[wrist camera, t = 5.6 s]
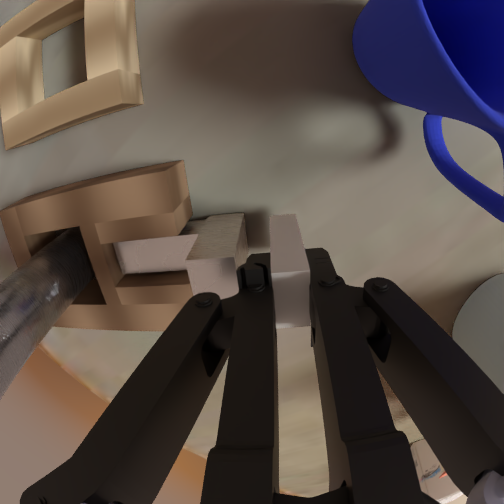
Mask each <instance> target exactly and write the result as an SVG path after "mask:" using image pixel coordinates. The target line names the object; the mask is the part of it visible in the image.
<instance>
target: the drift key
mask: <svg viewBox="0 0 504 504" xmlns="http://www.w3.org/2000/svg"><path fill="white" fill-rule="evenodd" d="M113 245H114V248H115V252H116V255H117V258H118V261H119V264H120V267H121V271H122V274H131V273H147V272H163V271H178V270H187V271H188V275H189V279H190V283H191V288H192V292H193V296H194V295H196V294H198V293H202V292H213V293H216V294H217V295H219V297H220V299H225V298H229V297H232V296H234V295H236V294H237V293H238V292H239V286H238V280H237V274H236V270H237V268H238V267H239V266H241V265H242V264H245V263H246V259H247V258H248V252H249V250H248V242H247V234H246V226H245V218H244V213H233V214H223V215H213V216H209V217H208V218H207V219H204V220H195V221H188V222H187V223H186V225H185V226H184V228H183V229H182V230H181V232H180V233H179V235H178V236H170V237H161V238H151V239H142V240H132V241H123V242H115V243H113Z"/></svg>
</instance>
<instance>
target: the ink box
mask: <svg viewBox="0 0 504 504" xmlns="http://www.w3.org/2000/svg"><path fill="white" fill-rule="evenodd" d="M410 449H411V452H412V456H413V460H414V463H415V467H416V471H417V475H418V479H419V483H420V487H421V491H422V492H424V493H426V494H427V495H429V496H430V497H432V498H433V499H435V500H436V501H438V502H439V503H441V504H446V503H448V502H450V501H453V500H455V499H457V498H458V497H459V496H461V495H462V494H463V493H462V492H461V491H460V490H459V489H458V487H457V486H456V485H455V484H454V483H453V482H452V480H451V479H450V477H449V476H448V475H446V476H444V477H442V478H439V477H440V476H441V475H442V473H443V472H444V471H445V470H444V468H443V467H442V465H441V464H440V462H439V460H438V459H437V457H436V456H435V454H434V452H433V451H432V449H431V448H430V446H429V445H428V443H427V441H426V440H425V439H423V440H420V441H416V442H413V444H412V445H411V447H410Z"/></svg>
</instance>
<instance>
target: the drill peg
mask: <svg viewBox="0 0 504 504" xmlns="http://www.w3.org/2000/svg"><path fill="white" fill-rule="evenodd" d="M95 276H96V275H95V272H94V269H93V267H92V264H91V261H90V258H89V255H88V252H87V249H86V246H85V243H84V240H83V236H82V233H81V230H80V226H77V227H71V228H69V229H68V230H66V231H65V232H64V233H62V234H61V235H60V236H58V237H57V238H56V239H54V240H53V241H52V242H50V243H49V244H48V245H46V246H45V247H44V248H42V249H41V250H40V251H39V252H37V253H36V254H35V255H34V256H32V257H31V258H30V259H29V260H27V261H26V262H25V263H24V264H23V265H21V266H20V267H19V268H18V269H17V270H15V271H14V272H13V273H12V274H11V275H10V276H8V277H7V278H6V279H5V280H4V281H3V282H2V283H1V284H0V399H1V398H2V396H3V395H4V393H5V392H6V390H7V389H8V387H9V386H10V384H11V383H12V381H13V379H14V378H15V377H16V375H17V374H18V372H19V371H20V369H21V368H22V367H23V365H24V364H25V362H26V361H27V360H28V358H29V357H30V355H31V354H32V353H33V351H34V350H35V349H36V347H37V346H38V345H39V343H40V342H41V341H42V339H43V338H44V337H45V336H46V334H47V333H48V332H49V330H50V329H51V328H52V327H53V325H54V324H55V323H56V322H57V320H58V319H59V318H60V317H61V315H62V314H63V313H64V312H65V310H66V309H67V308H68V307H69V306H70V304H71V303H72V302H73V301H74V300H75V298H76V297H77V296H78V295H79V294H80V293H81V291H82V290H83V289H84V288H85V287H86V286H87V285H88V283H89V282H90V281H91V280H92V279H93V278H94V277H95Z"/></svg>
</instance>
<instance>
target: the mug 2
mask: <svg viewBox="0 0 504 504" xmlns="http://www.w3.org/2000/svg"><path fill="white" fill-rule="evenodd" d="M452 338H453V340H454V341H455V342H456V343H457V344H458V345H459V346H460V347H461V348H462V349H463V350H464V351H465V352H466V353H467V354H468V356H469V357H470V358H471V359H472V360H473V361H474V362H475V363H476V364H477V365H478V366H479V367H480V368H481V369H482V371H483V372H484V373H485V374H486V375H487V376H488V377H489V378H490V379H491V380H492V382H493V383H494V384H495V385H496V386H497V387H498V388H499V390H500V391H501V392H502V393H503V394H504V273H503V274H499V275H496V276H494V277H492V278H490V279H488V280H487V281H485V282H484V283H483V284H482V285H480V286H479V287H478V288H477V289H476V290H475V291H474V292H473V293H472V294H471V296H470V297H469V298H468V299H467V301H466V302H465V303H464V305H463V306H462V308H461V310H460V311H459V313H458V315H457V317H456V320H455V323H454V326H453V331H452Z"/></svg>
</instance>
